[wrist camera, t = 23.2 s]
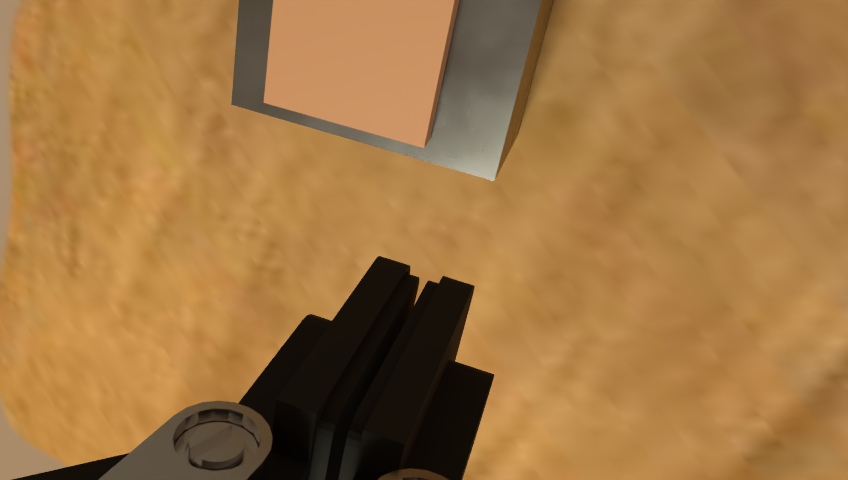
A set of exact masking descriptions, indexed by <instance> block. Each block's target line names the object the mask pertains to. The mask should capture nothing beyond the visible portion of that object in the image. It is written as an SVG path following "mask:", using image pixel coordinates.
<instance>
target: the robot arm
mask: <svg viewBox="0 0 848 480" xmlns="http://www.w3.org/2000/svg"><path fill="white" fill-rule="evenodd" d="M418 286H419V277H416V276H413V275H410V266H409V265H406V264H403V263H400V262H397V261H393V260H390V259H387V258H384V257H381V256H378V257H377V258H376V260H375V261H374V262H373V264H372V265H371V267H370V268H369V270H368V271H367V272H366V274H365V275H364V277H363V278H362V279H361V281H360V282H359V284H358V285H357V286H356V288H355V289H354V291H353V292H352V294H351V295H350V296H349V298H348V299H347V301H346V302H345V303H344V305H343V306H342V308H341V309H340V311H339V312H338V313H337V315H336V316H335V318H334V319H333V320H332V321H330V320H327V319H324V318H321V317H318V316H315V315H312V314H310V315H307V316H306V317H305V318H304V319H303V320H302V322H301V323H300V324H299V325H298V327H297V328H296V329H295V331H294V332H293V333H292V335H291V336H290V337H289V338H288V340H287V341H286V342H285V344H284V345H283V346H282V347H281V349H280V350H279V351H278V353H277V354H276V355H275V357H274V358H273V359H272V360H271V362H270V363H269V364H268V366H267V367H266V368H265V370H264V371H263V372H262V373H261V375H260V376H259V377H258V379H257V380H256V381H255V382H254V384H253V385H252V386H251V388H250V389H249V390H248V392H247V393H246V394H245V395H244V397H243V398H242V399H241V401H240V402H239V403H235V402H225V401H211V402H202V403H199V404H196V405H193V406H190V407H187V408H185V409H184V410H182V411H180V412H179V413H177V414H176V415H174V416H173V417H172V418H170V419H169V420H168V421H167V422H166V423H165V424H163V425H162V426H161V427H160V428H159V429H157V430H156V431H155V432H154V433H153V434H152V435H150V436H149V437H148V438H147V439H146V440H144V441H143V442H142V443H141V444H140V445H139V446H137V447H136V448H135V449H134V450H133V451H131V452H130V453H128V454H123V455H119V456H115V457H110V458H106V459H101V460H97V461H92V462H88V463H84V464H79V465H75V466H70V467H66V468H62V469H58V470H53V471H49V472H44V473H40V474H35V475H31V476H26V477H22V478H17V479H13V480H462V479H463V475H464V472H465V469H466V466H467V463H468V460H469V456H470V453H471V450H472V447H473V444H474V440H475V437H476V434H477V431H478V427H479V424H480V421H481V418H482V414H483V411H484V408H485V405H486V401H487V398H488V395H489V391H490V388H491V385H492V381H493V378H494V374H491V373H488V372H485V371H482V370H479V369H476V368H473V367H470V366H467V365H464V364H461V363H458V362H455V359H456V355H457V352H458V348H459V344H460V340H461V337H462V333H463V329H464V326H465V322H466V318H467V314H468V311H469V307H470V303H471V299H472V296H473V292H474V286H473V285H470V284H467V283H464V282H460V281H457V280H454V279H451V278H448V277H445V276H443V277H442V279H441V280H440V282H439V284H438V283H435V282H432V281H428V282H427V283H426V285H425V287H424V289H423V291H422V293H421V294H420V296H419V298H418V300H417V302H416V304H415V305H414V303H415V299H416V295H417V290H418Z"/></svg>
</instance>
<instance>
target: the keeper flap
mask: <svg viewBox="0 0 848 480" xmlns="http://www.w3.org/2000/svg"><path fill="white" fill-rule="evenodd" d="M458 5H459V0H273V8H272V19H271V29H270V40H269V50H268V61H267V72H266V82H265V93H264V103H266V104H270V105H273V106H277V107H280V108H284V109H287V110H291V111H295V112H298V113H302V114H305V115H309V116H312V117H316V118H319V119H323V120H326V121H330V122H333V123H337V124H340V125H344V126H347V127H351V128H354V129H358V130H362V131H365V132H369V133H372V134H376V135H379V136H383V137H386V138H390V139H393V140H397V141H400V142H404V143H407V144H411V145H414V146H418V147H422V148H424V147H425V146H426V145H427V143H428V142H429V141H430V138H431V133H432V128H433V123H434V119H435V114H436V109H437V104H438V100H439V95H440V90H441V85H442V81H443V76H444V71H445V66H446V62H447V57H448V52H449V47H450V43H451V38H452V33H453V29H454V24H455V19H456V14H457V10H458Z"/></svg>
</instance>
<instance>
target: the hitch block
mask: <svg viewBox="0 0 848 480" xmlns="http://www.w3.org/2000/svg"><path fill="white" fill-rule="evenodd" d="M553 2H554V0H459V5H458V10H457V14H456V19H455V24H454V29H453V33H452V38H451V43H450V47H449V52H448V57H447V62H446V66H445V71H444V76H443V81H442V85H441V90H440V95H439V100H438V104H437V109H436V114H435V119H434V123H433V128H432V133H431V138H430V141H429V142H428V143H427V145H426V146H425V147H424V148H422V147H418V146H414V145H411V144H407V143H404V142H400V141H397V140H393V139H390V138H386V137H383V136H379V135H376V134H372V133H369V132H365V131H362V130H358V129H354V128H351V127H347V126H344V125H340V124H337V123H333V122H330V121H326V120H323V119H319V118H316V117H312V116H309V115H305V114H302V113H298V112H295V111H291V110H287V109H284V108H280V107H277V106H273V105H270V104H266V103H264V93H265V82H266V72H267V61H268V50H269V40H270V29H271V19H272V8H273V0H239V10H238V23H237V37H236V50H235V64H234V77H233V91H232V104H231V105H235V106H238V107H242V108H245V109H248V110H252V111H255V112H259V113H262V114H266V115H269V116H272V117H276V118H279V119H283V120H286V121H290V122H293V123H296V124H300V125H303V126H307V127H310V128H314V129H317V130H320V131H324V132H327V133H331V134H334V135H338V136H341V137H344V138H348V139H351V140H355V141H358V142H362V143H365V144H368V145H372V146H375V147H379V148H382V149H386V150H389V151H392V152H396V153H399V154H403V155H406V156H410V157H413V158H416V159H420V160H423V161H427V162H430V163H433V164H437V165H440V166H444V167H447V168H451V169H454V170H457V171H461V172H464V173H468V174H471V175H475V176H478V177H481V178H485V179H488V180H492V181H495V179H496V177H497V175H498V173H499V171H500V169H501V167H502V165H503V163H504V161H505V159H506V157H507V155H508V153H509V151H510V149H511V147H512V146H513V144H514V142H515V140H516V138H517V135H518V131H519V128H520V124H521V120H522V117H523V113H524V109H525V106H526V102H527V98H528V94H529V91H530V87H531V83H532V80H533V76H534V72H535V68H536V65H537V61H538V57H539V54H540V50H541V46H542V42H543V39H544V35H545V31H546V28H547V24H548V20H549V16H550V13H551V9H552V5H553Z"/></svg>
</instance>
